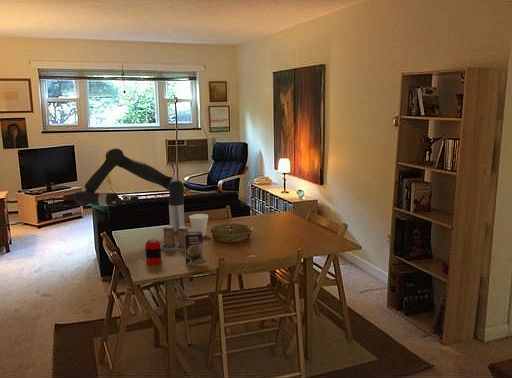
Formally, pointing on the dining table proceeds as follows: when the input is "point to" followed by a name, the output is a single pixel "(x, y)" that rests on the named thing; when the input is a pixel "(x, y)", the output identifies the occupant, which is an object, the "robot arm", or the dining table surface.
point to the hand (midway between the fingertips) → (135, 200)
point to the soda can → (153, 252)
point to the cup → (199, 222)
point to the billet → (169, 237)
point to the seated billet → (182, 236)
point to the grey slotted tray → (175, 249)
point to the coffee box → (193, 248)
